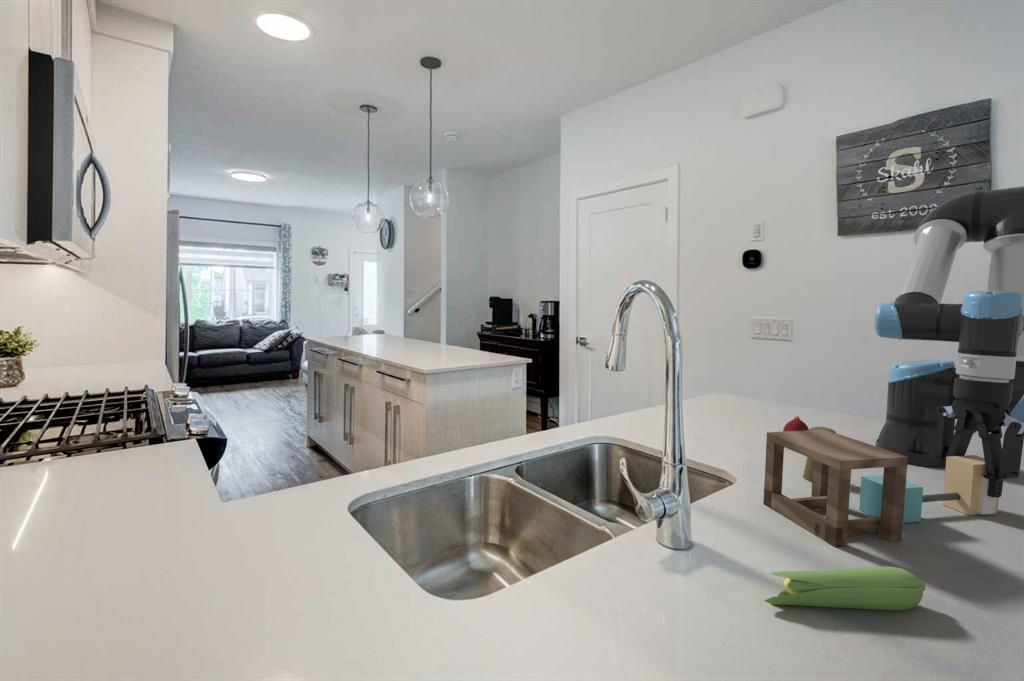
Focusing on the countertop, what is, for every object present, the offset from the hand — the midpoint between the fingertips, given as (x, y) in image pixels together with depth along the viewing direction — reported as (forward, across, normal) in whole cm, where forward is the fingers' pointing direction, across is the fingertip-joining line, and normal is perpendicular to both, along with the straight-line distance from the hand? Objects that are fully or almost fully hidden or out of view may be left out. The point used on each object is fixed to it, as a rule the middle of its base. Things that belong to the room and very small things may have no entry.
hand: (969, 506), depth 88 cm
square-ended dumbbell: (+1, 0, -8) cm, 8 cm away
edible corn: (+2, +20, -46) cm, 50 cm away
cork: (+1, -17, -15) cm, 23 cm away
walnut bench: (+1, 0, -29) cm, 29 cm away
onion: (0, -38, -4) cm, 38 cm away
